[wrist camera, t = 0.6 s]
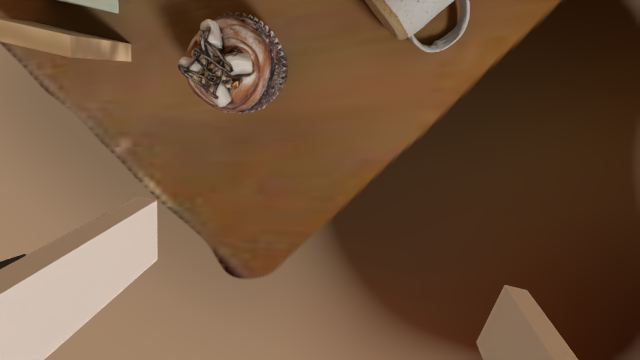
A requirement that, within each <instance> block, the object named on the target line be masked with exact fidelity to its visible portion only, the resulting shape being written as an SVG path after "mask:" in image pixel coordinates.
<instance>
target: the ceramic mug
mask: <svg viewBox="0 0 640 360" xmlns="http://www.w3.org/2000/svg"><path fill="white" fill-rule="evenodd" d="M453 1H454V0H365V2H366V3H367V4H368V6H369V7H370V9H371V10H372V11H373V13H374V14H375V15H376V17H377V18H378V19H379V20H380V22H381V23H382V24H383V25H384V26H385V27H386V29H387V30H388V31H389V32H390V33H391V34H392V35H393V36H394V37H395V38H397V39H406V38H409V40H410V41H411V42H412V43H413V44H414V45H415V46H417V47H418V48H419V49H421V50H423V51H426V52H439V51H441V50H444V49H446V48H448V47H449V46H451V45H452V44H453V43H454V42H456V41H457V40H458V39H459V38H460V37H461V35H462V34H463V33H464V31H465V29H466V27H467V24H468V20H469V14H470V3H469V0H459V1H460V17H459V20H458V23H457V25H456V26H455V27H454V29H453V30H452V31H451V32H449V33H448V34H447V35H445V36H444V37H443V38H441V39H439V40H436V41H435V42H434V43H433V44H432V45H424V44H421V43H420V42H419V41H418V40H417V39H416V38H415V37H414V34H415V33H416V32H417V31H419V30H420V29H421V28H423V27H424V26H425V25H426V24H427V23H428V22H429V21H430V20H431V19H432V18H434V17H435V16H436V15H437V14H438V13H439V12H441V11H442V10H443V9H444V8H446V7H447V6H448V5H449V4H451V3H452V2H453Z"/></svg>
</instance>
